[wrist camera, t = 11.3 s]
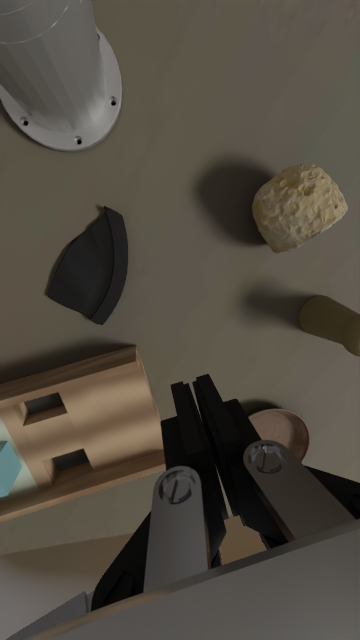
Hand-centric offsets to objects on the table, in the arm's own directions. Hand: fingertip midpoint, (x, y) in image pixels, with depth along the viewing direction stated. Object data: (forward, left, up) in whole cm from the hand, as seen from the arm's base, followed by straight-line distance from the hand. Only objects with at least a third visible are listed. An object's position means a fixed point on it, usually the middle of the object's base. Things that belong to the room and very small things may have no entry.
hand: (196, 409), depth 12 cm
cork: (+10, +22, -27) cm, 37 cm away
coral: (-6, +18, -27) cm, 33 cm away
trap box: (+15, -18, -27) cm, 35 cm away
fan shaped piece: (-4, -6, -28) cm, 29 cm away
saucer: (+29, +10, -27) cm, 41 cm away
